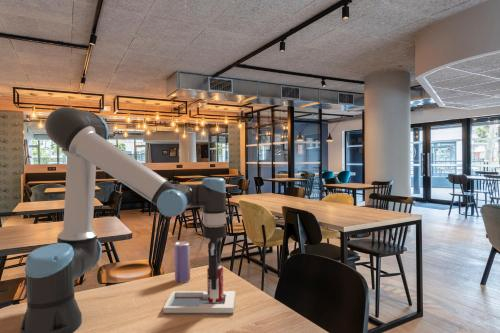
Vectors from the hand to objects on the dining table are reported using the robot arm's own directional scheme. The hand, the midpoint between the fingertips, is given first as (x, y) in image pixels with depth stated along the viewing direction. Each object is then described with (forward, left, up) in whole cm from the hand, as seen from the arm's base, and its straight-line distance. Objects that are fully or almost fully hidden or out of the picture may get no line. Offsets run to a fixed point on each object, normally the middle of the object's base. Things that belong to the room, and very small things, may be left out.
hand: (215, 293), depth 105 cm
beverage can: (-16, +21, -4) cm, 27 cm away
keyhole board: (-5, 0, -4) cm, 6 cm away
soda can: (0, 0, -2) cm, 2 cm away
